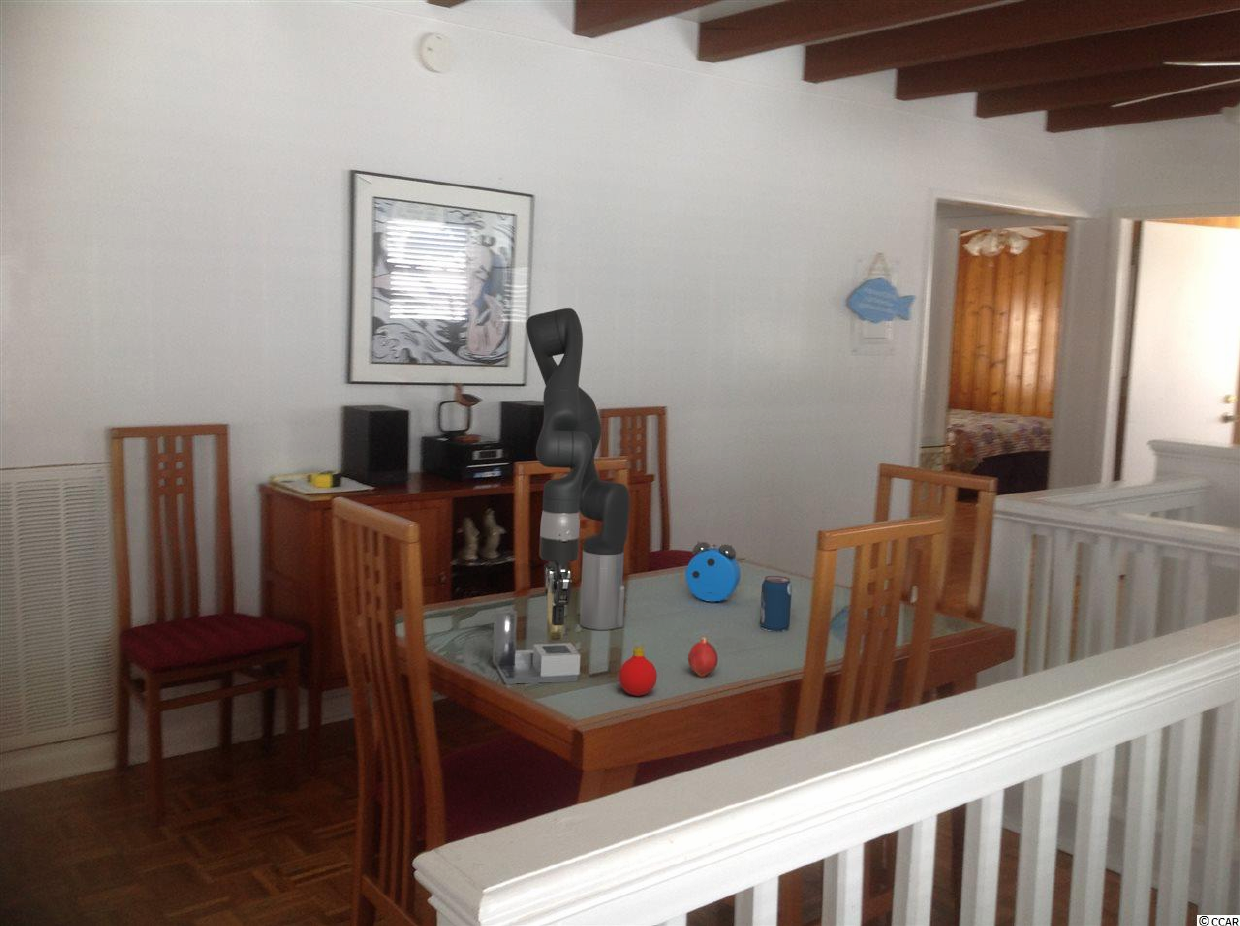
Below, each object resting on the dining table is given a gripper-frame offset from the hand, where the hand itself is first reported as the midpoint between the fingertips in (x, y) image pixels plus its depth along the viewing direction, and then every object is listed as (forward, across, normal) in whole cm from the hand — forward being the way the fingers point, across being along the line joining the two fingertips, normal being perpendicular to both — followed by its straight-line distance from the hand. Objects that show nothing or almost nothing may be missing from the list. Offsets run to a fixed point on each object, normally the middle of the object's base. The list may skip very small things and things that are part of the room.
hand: (555, 621), depth 208 cm
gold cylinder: (+3, 0, 0) cm, 3 cm away
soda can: (+10, -26, +59) cm, 65 cm away
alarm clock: (+10, -53, +54) cm, 76 cm away
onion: (+11, +5, +29) cm, 31 cm away
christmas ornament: (+11, +13, +13) cm, 21 cm away
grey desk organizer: (+11, -2, -3) cm, 11 cm away
